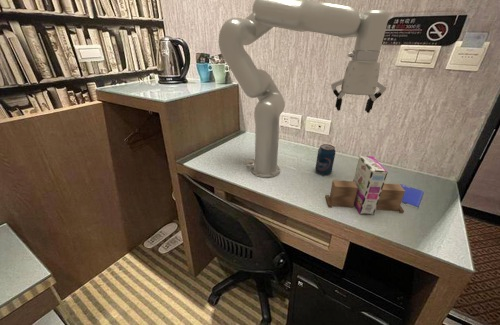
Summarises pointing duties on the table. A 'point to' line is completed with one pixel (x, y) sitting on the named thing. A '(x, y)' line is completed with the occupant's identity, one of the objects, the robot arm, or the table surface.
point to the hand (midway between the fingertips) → (352, 110)
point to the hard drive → (412, 196)
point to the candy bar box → (368, 184)
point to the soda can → (325, 159)
